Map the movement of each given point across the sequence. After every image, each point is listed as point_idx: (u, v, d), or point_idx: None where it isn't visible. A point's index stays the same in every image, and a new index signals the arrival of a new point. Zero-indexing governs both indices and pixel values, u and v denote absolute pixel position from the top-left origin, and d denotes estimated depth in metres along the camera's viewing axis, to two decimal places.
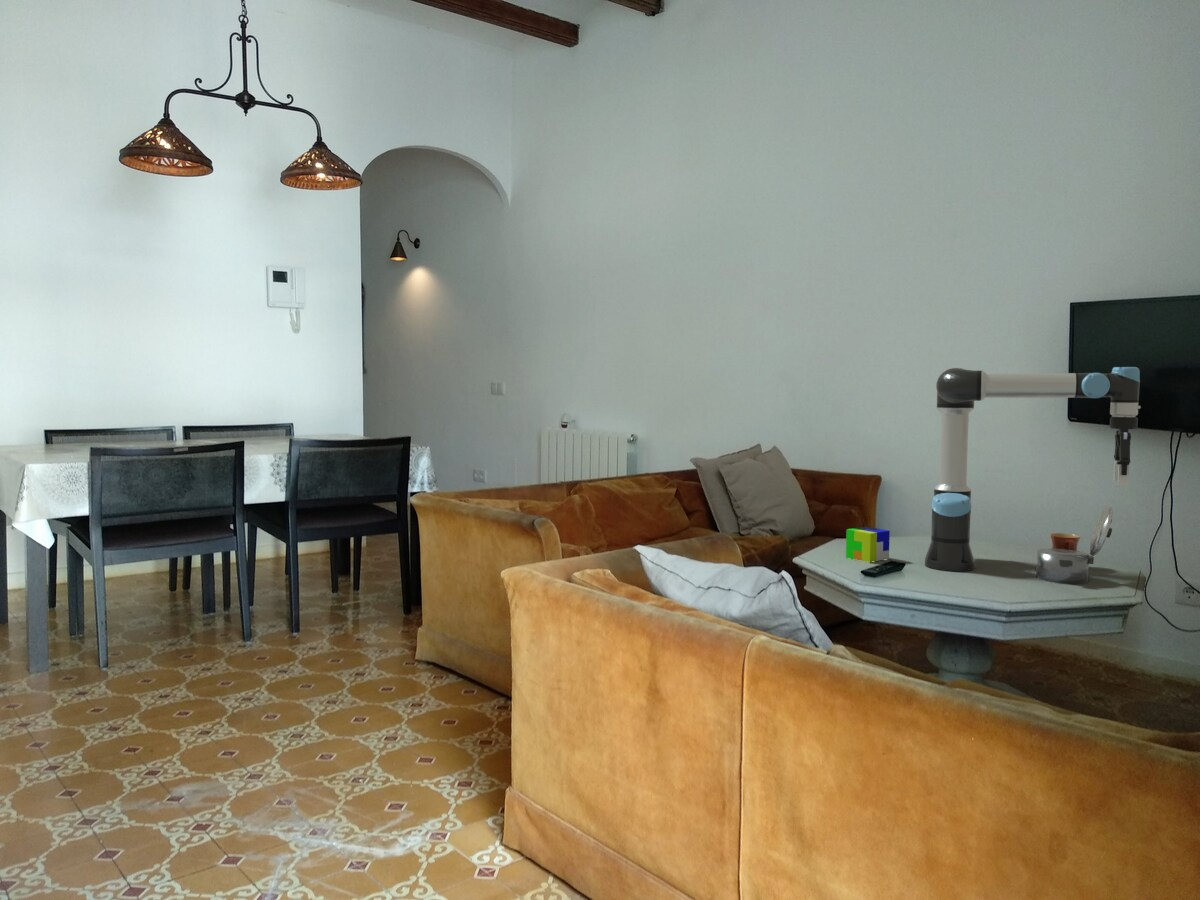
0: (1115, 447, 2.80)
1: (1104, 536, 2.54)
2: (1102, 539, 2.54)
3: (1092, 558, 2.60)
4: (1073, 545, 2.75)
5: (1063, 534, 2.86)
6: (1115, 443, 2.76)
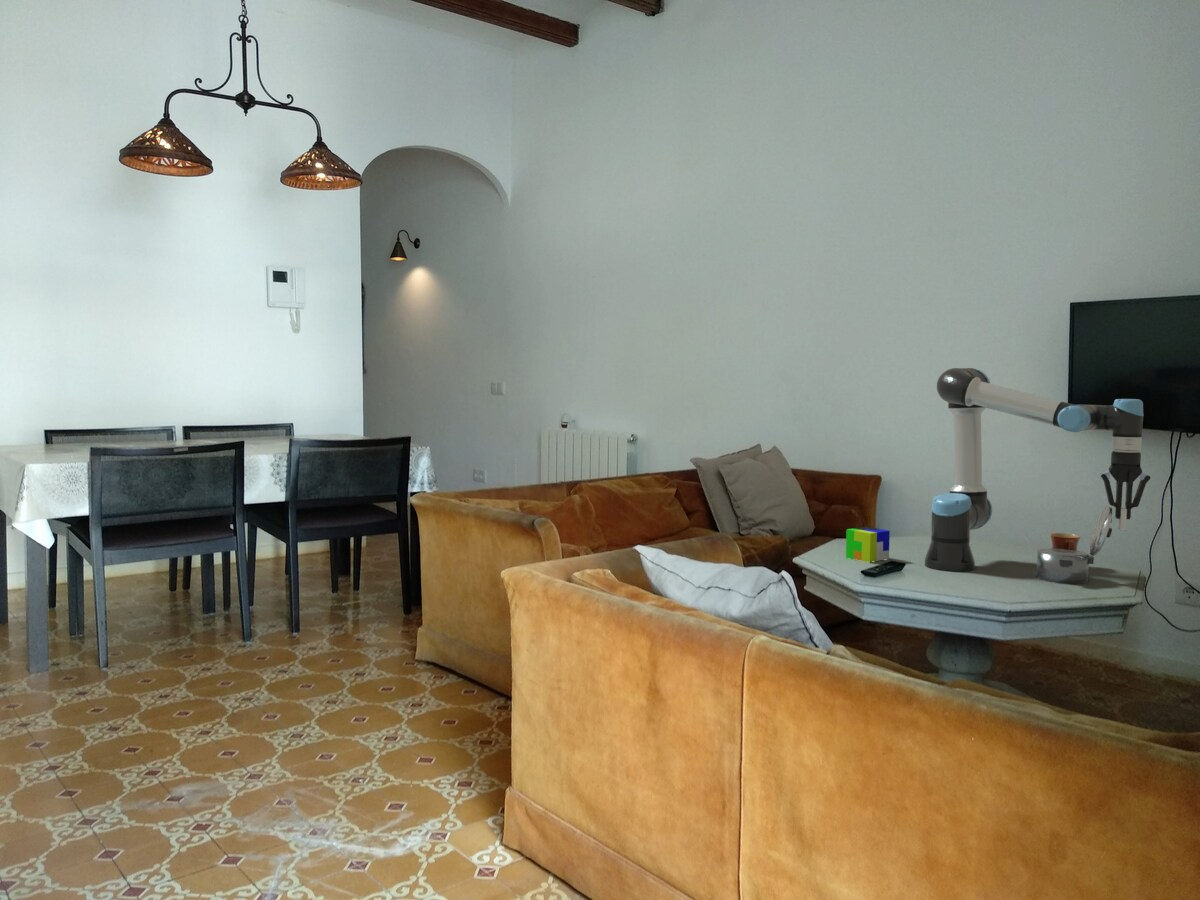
0: None
1: (1104, 536, 2.54)
2: (1102, 539, 2.54)
3: (1092, 558, 2.60)
4: (1073, 545, 2.75)
5: (1063, 534, 2.86)
6: (1127, 481, 2.58)
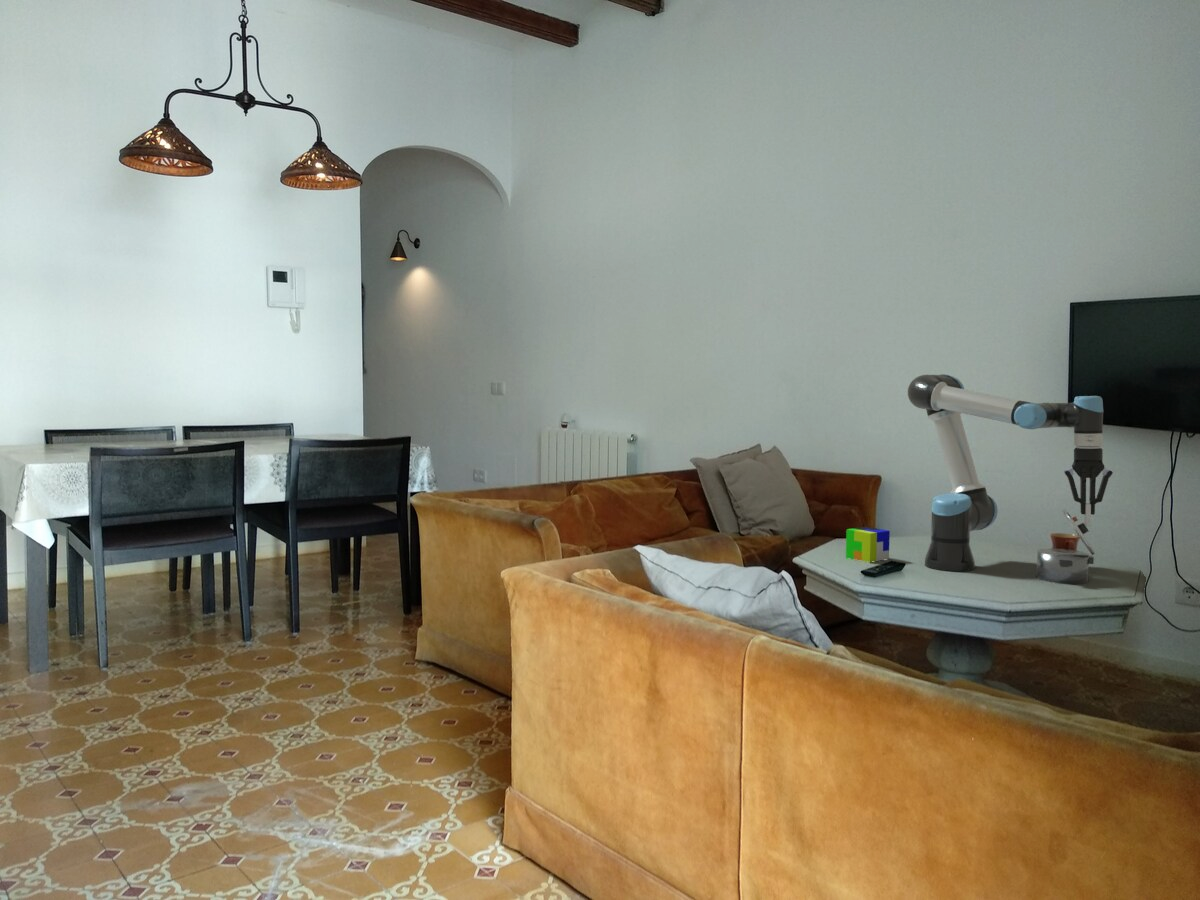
0: None
1: (1082, 536, 2.56)
2: (1083, 540, 2.56)
3: (1092, 558, 2.60)
4: (1073, 545, 2.75)
5: (1063, 534, 2.86)
6: None
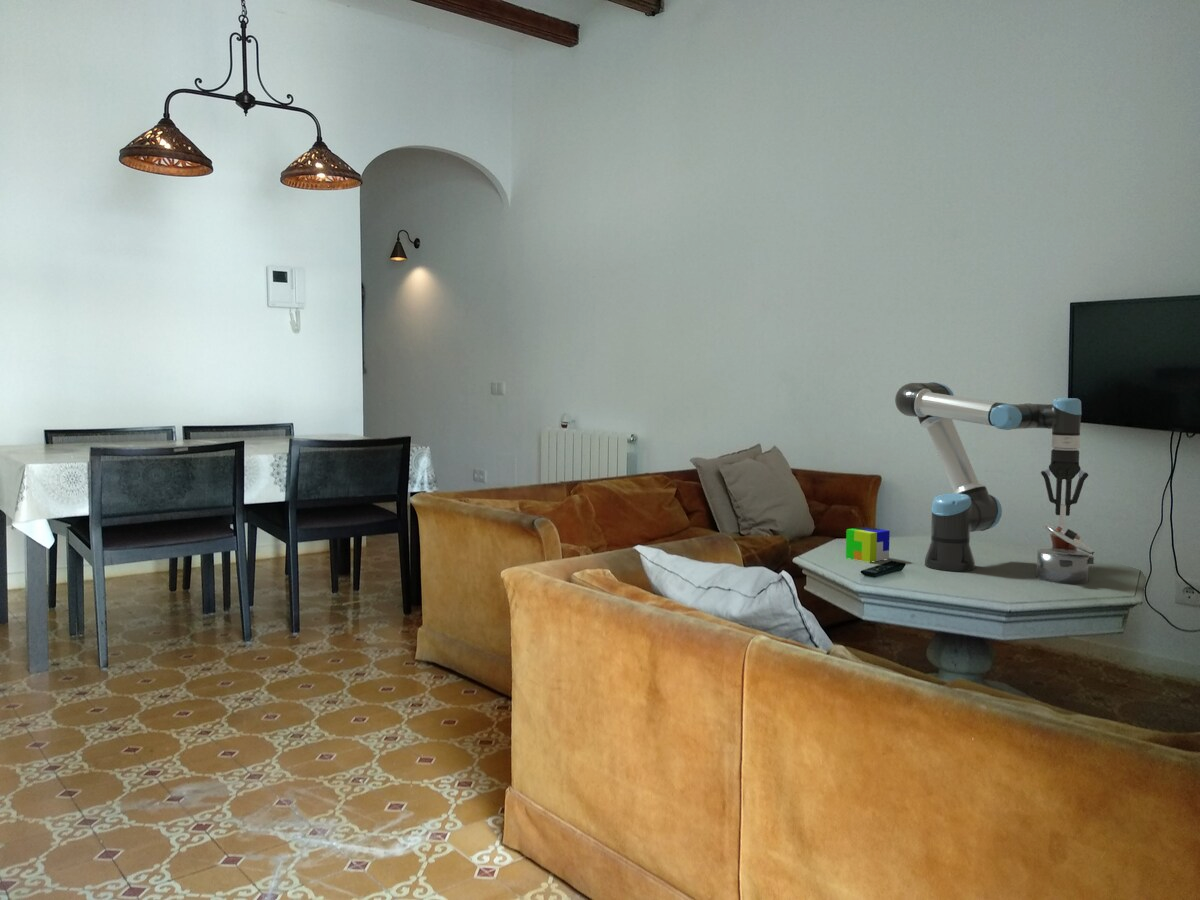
0: None
1: (1073, 543, 2.57)
2: (1076, 545, 2.57)
3: (1092, 558, 2.60)
4: None
5: None
6: None
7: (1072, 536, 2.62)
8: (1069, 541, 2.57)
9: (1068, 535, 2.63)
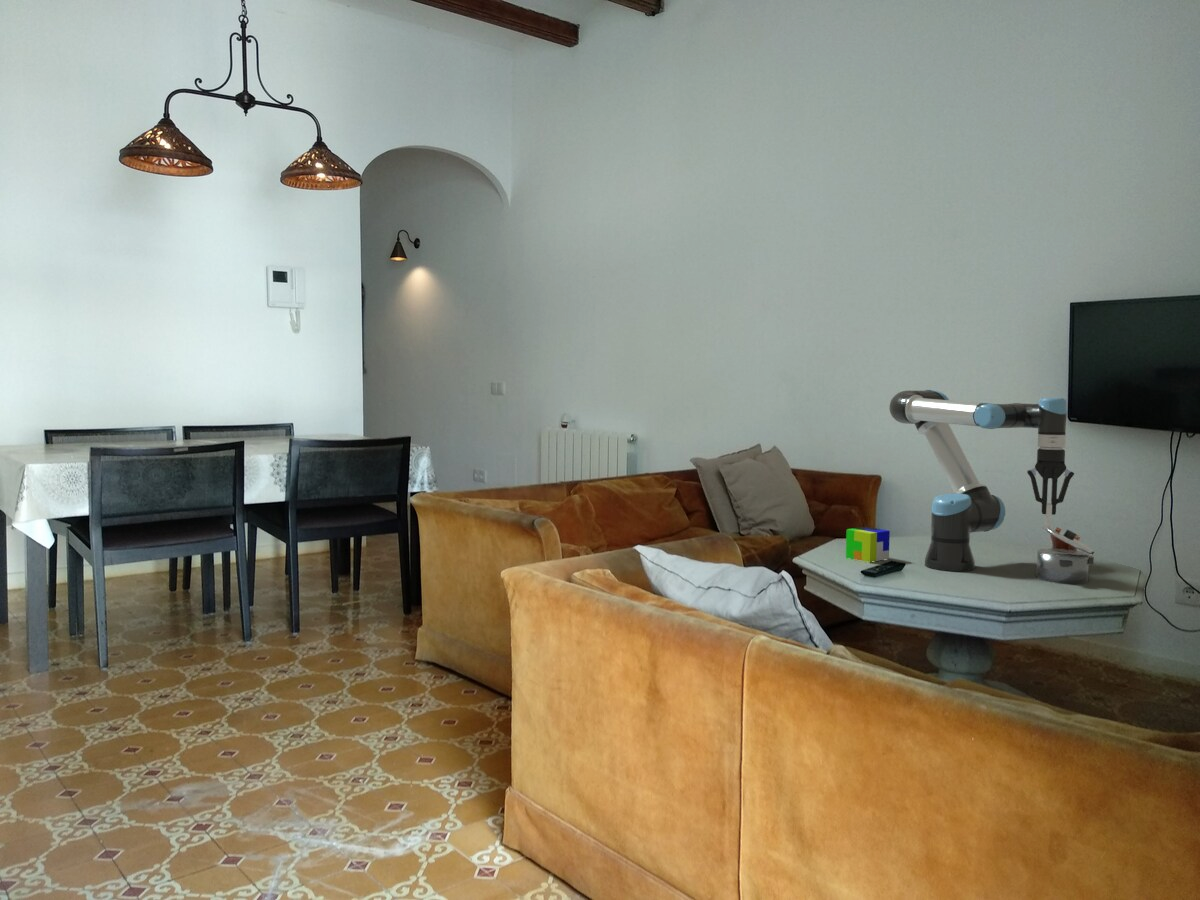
0: None
1: (1072, 544, 2.57)
2: (1075, 546, 2.57)
3: (1092, 558, 2.60)
4: None
5: None
6: None
7: (1071, 537, 2.62)
8: (1068, 542, 2.57)
9: (1067, 536, 2.63)
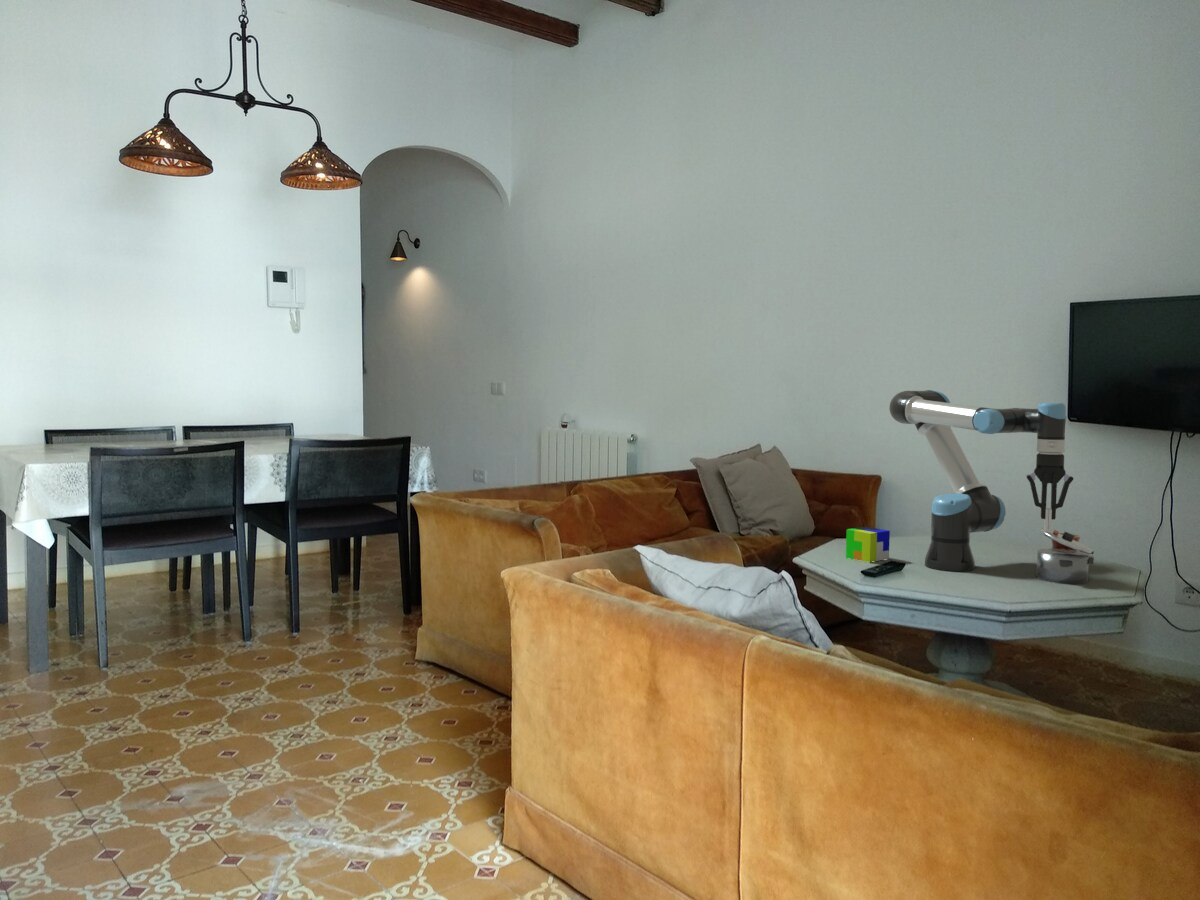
0: None
1: (1071, 546, 2.57)
2: (1074, 548, 2.57)
3: (1092, 558, 2.60)
4: None
5: None
6: None
7: (1070, 538, 2.62)
8: (1067, 544, 2.57)
9: (1065, 538, 2.63)
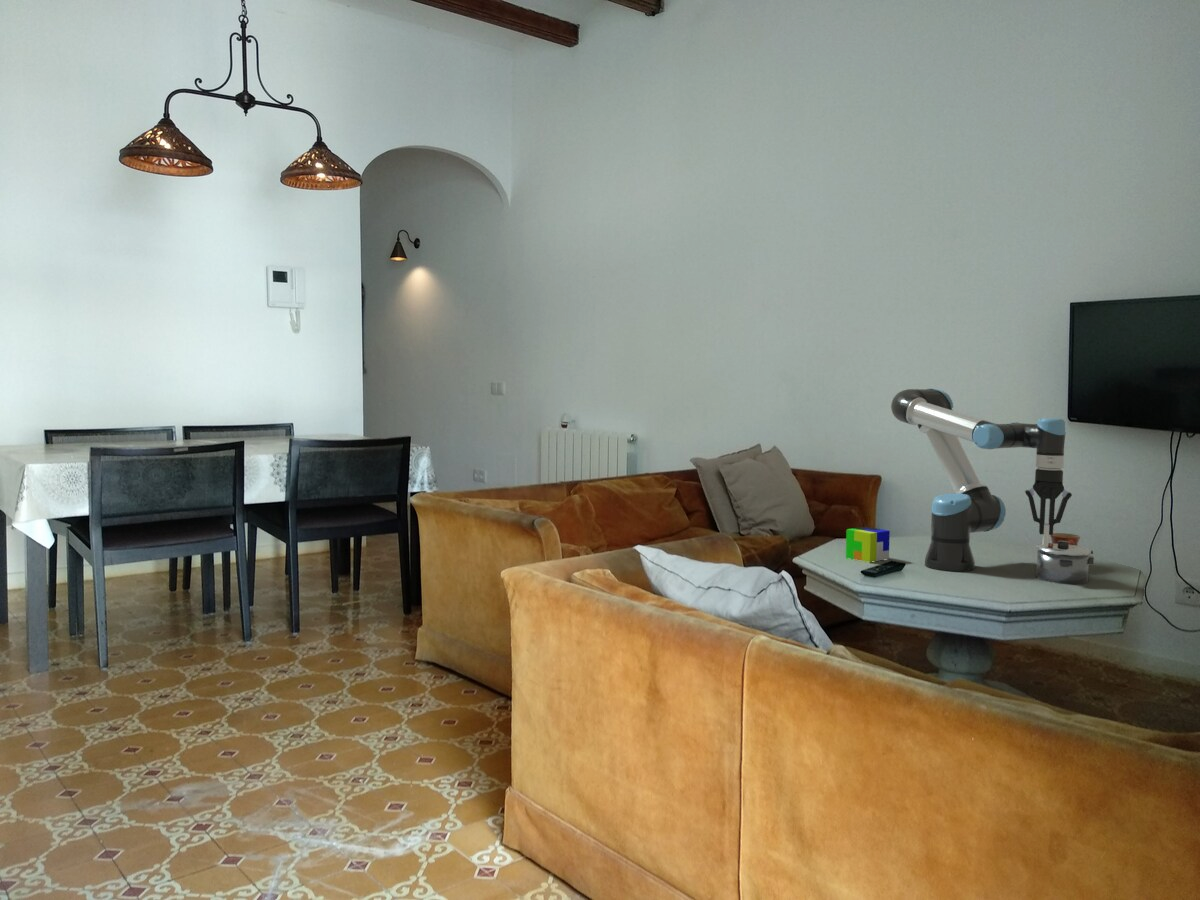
0: None
1: (1068, 554, 2.58)
2: (1072, 555, 2.57)
3: (1092, 558, 2.60)
4: None
5: (1063, 534, 2.86)
6: None
7: (1065, 546, 2.63)
8: (1064, 553, 2.58)
9: (1061, 547, 2.64)
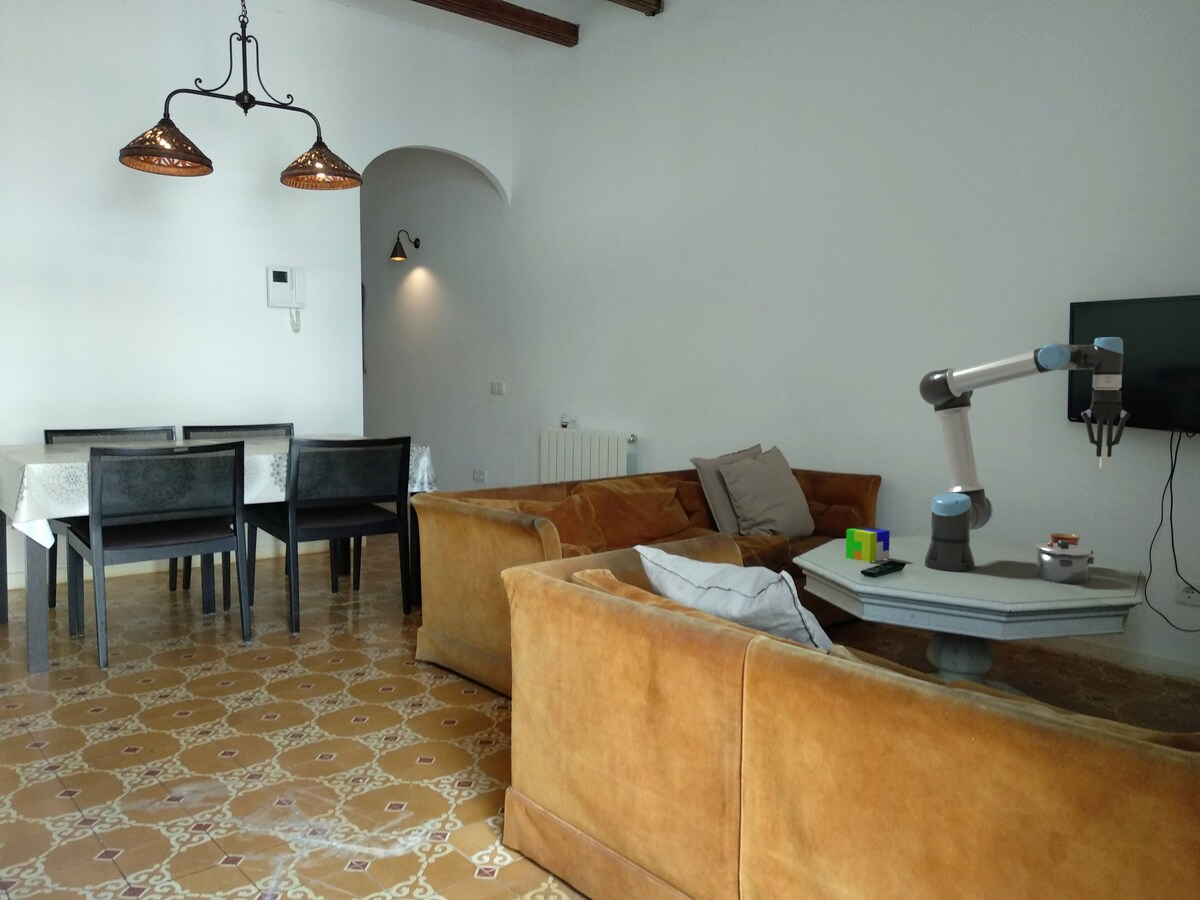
0: None
1: (1068, 553, 2.58)
2: (1072, 554, 2.57)
3: (1092, 558, 2.60)
4: None
5: (1063, 534, 2.86)
6: (1107, 420, 2.61)
7: (1065, 546, 2.63)
8: (1064, 553, 2.58)
9: (1061, 546, 2.64)
